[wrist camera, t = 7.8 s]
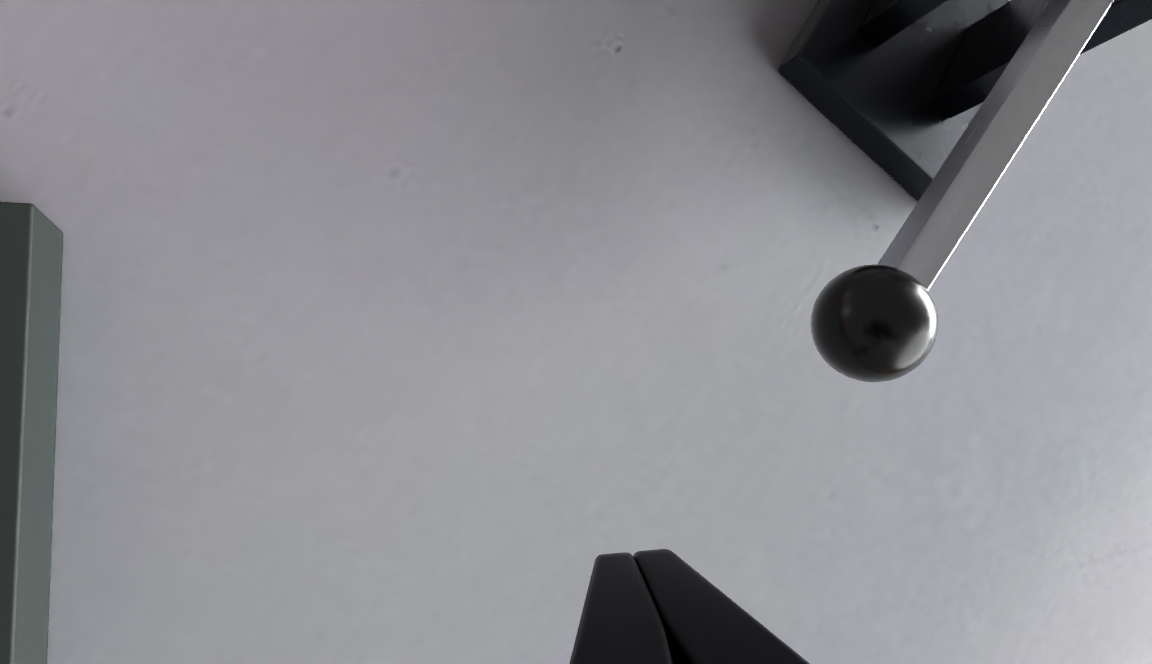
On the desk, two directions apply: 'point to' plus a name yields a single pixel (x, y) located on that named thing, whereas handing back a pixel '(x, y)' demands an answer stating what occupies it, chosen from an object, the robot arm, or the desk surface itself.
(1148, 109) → the desk surface
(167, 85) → the desk surface
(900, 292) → the lever
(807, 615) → the desk surface
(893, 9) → the bracket
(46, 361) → the button box
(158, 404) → the desk surface
